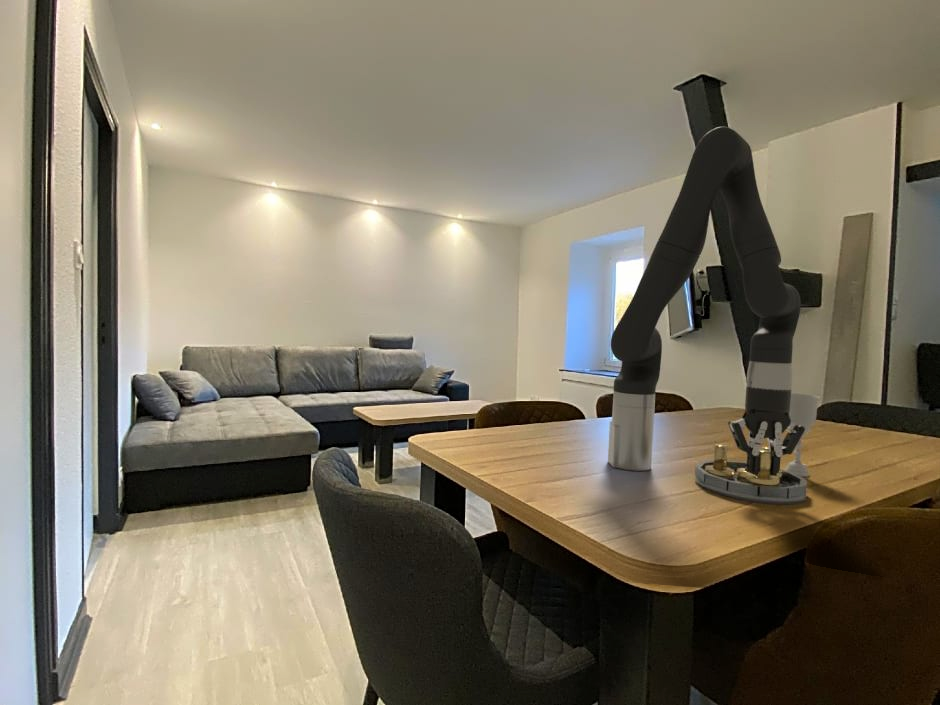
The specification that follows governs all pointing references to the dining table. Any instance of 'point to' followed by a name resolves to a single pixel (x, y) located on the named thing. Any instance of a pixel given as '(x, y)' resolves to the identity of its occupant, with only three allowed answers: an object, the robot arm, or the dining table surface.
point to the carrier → (732, 481)
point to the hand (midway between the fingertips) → (762, 473)
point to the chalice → (803, 415)
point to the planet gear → (763, 471)
